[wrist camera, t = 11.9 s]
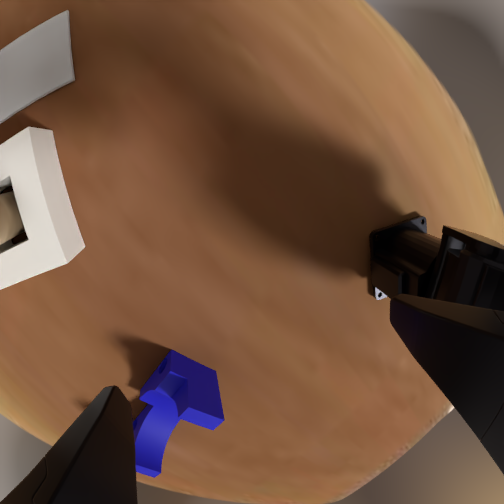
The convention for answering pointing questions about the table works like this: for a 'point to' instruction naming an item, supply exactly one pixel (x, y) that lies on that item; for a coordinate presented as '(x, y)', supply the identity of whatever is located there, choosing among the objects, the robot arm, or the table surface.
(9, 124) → the table surface
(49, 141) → the block
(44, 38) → the mat
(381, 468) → the table surface
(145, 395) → the cable clip
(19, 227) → the peg
